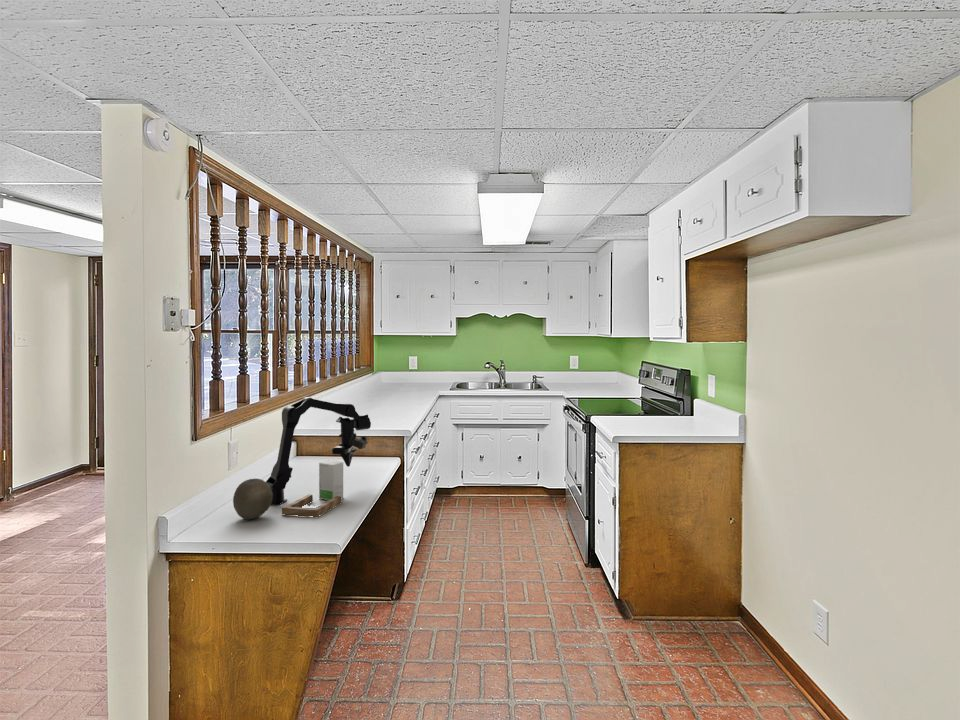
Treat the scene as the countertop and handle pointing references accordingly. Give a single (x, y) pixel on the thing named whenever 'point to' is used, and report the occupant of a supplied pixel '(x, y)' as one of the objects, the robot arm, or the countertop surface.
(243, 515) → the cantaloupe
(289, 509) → the wooden tray
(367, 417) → the robot arm
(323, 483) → the skincare box
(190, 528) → the countertop surface
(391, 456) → the countertop surface
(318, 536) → the countertop surface
